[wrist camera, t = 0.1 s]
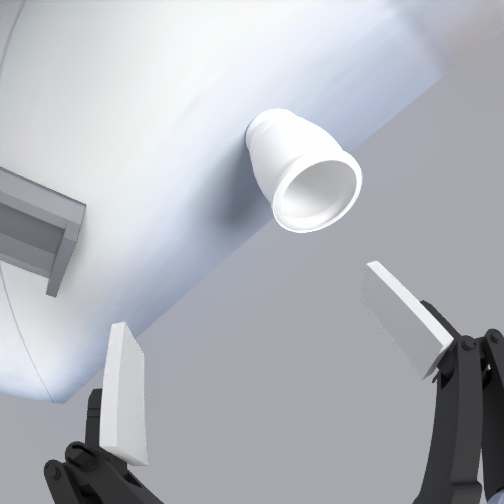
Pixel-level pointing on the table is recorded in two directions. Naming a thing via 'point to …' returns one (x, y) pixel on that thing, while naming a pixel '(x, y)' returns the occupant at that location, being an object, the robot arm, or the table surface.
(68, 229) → the grey open tray
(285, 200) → the jar
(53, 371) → the table surface
